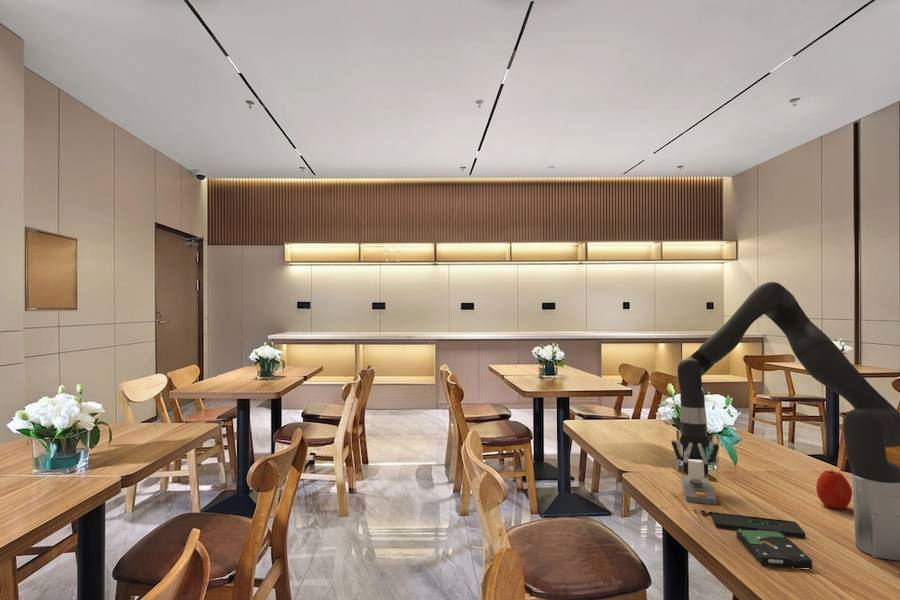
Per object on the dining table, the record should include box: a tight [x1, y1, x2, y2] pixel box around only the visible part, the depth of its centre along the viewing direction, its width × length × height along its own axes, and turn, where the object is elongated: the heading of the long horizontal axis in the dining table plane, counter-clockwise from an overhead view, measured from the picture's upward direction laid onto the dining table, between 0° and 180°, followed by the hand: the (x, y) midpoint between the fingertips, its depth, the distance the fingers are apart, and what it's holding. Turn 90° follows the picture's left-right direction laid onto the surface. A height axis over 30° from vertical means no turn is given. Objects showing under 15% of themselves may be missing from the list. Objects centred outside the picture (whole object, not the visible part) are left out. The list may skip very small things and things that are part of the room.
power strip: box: [680, 475, 718, 517], centre depth 145 cm, size 26×8×4 cm, turn 158°
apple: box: [815, 470, 853, 510], centre depth 138 cm, size 8×8×11 cm
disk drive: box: [735, 529, 813, 569], centre depth 112 cm, size 10×3×15 cm
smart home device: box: [710, 511, 807, 539], centre depth 126 cm, size 8×2×20 cm
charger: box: [687, 458, 705, 484], centre depth 152 cm, size 4×4×6 cm
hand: (695, 474), depth 152 cm, fingers closed on charger, 4 cm apart
